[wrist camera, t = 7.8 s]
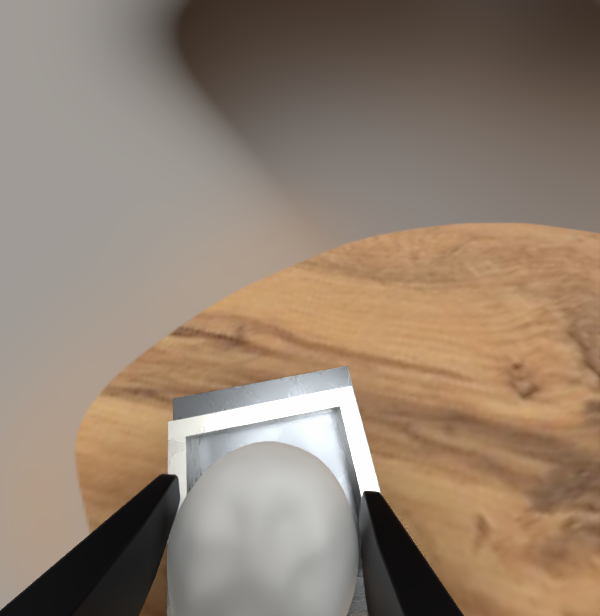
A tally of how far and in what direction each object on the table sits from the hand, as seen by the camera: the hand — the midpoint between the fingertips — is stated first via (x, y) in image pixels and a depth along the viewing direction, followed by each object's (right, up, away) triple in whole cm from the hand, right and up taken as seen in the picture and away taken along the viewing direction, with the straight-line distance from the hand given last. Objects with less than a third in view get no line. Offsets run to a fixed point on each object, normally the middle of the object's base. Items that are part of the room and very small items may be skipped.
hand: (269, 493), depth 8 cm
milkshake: (0, -5, +7) cm, 8 cm away
